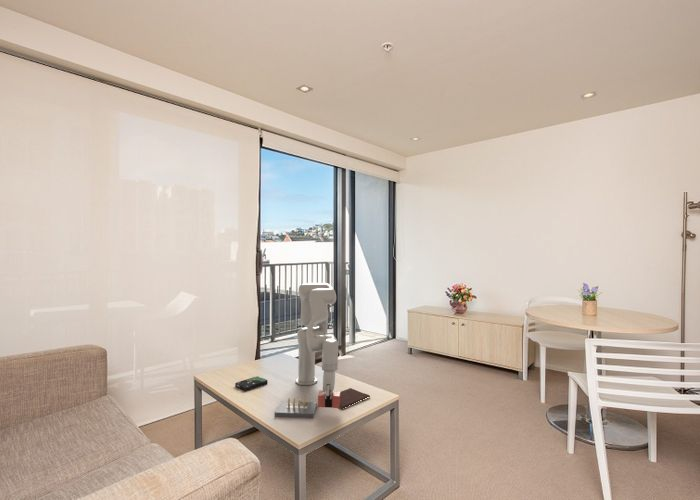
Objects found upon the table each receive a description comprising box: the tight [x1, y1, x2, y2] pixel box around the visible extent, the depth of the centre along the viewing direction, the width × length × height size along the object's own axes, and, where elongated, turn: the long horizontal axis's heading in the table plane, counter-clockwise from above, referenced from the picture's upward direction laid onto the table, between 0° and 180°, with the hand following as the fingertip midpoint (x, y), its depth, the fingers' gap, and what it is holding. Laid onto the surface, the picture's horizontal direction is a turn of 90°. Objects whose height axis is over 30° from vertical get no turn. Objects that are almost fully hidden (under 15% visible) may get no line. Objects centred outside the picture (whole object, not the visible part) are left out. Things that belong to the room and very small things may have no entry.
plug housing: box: [317, 390, 341, 409], centre depth 165 cm, size 5×10×6 cm, turn 87°
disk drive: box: [234, 376, 268, 392], centre depth 199 cm, size 10×3×15 cm
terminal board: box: [274, 397, 318, 419], centre depth 167 cm, size 12×18×6 cm, turn 87°
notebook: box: [339, 387, 371, 410], centre depth 182 cm, size 15×20×2 cm
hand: (329, 403), depth 165 cm, fingers closed on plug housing, 5 cm apart
